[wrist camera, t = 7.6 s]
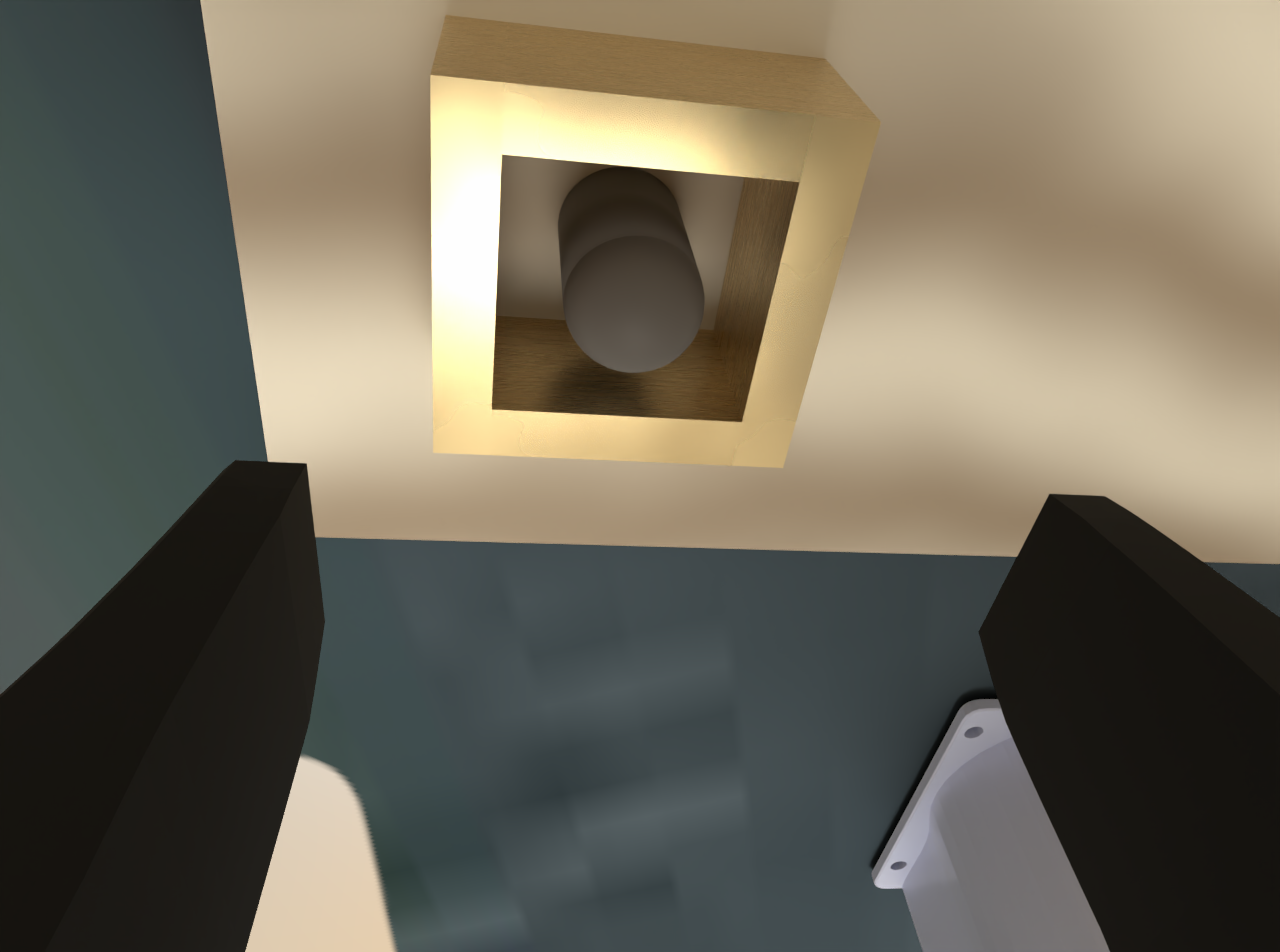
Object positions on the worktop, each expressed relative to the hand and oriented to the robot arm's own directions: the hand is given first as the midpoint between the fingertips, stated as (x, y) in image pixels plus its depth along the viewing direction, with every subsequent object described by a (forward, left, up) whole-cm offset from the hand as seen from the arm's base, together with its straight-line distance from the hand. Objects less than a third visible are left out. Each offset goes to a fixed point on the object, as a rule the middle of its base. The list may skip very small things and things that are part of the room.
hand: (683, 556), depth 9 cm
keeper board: (0, -8, -9) cm, 12 cm away
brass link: (0, 0, -8) cm, 8 cm away
